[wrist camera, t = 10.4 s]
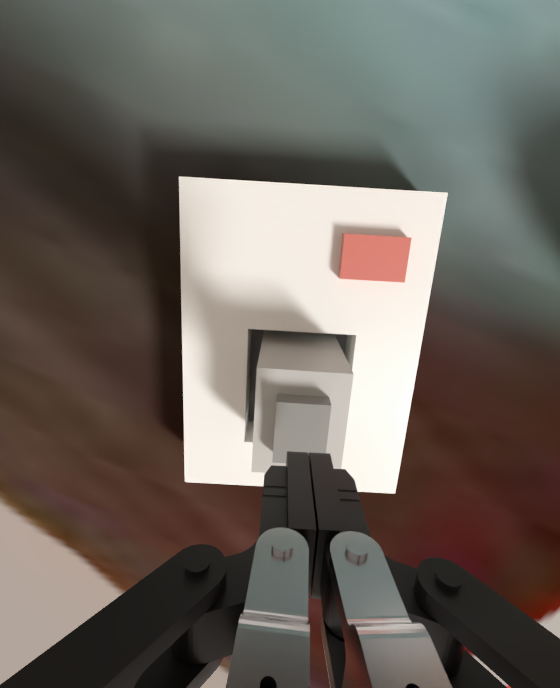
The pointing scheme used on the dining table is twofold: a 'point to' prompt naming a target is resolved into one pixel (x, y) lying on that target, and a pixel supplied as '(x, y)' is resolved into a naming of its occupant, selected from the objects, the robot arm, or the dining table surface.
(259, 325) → the socket plate
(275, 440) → the plug
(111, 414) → the dining table surface
